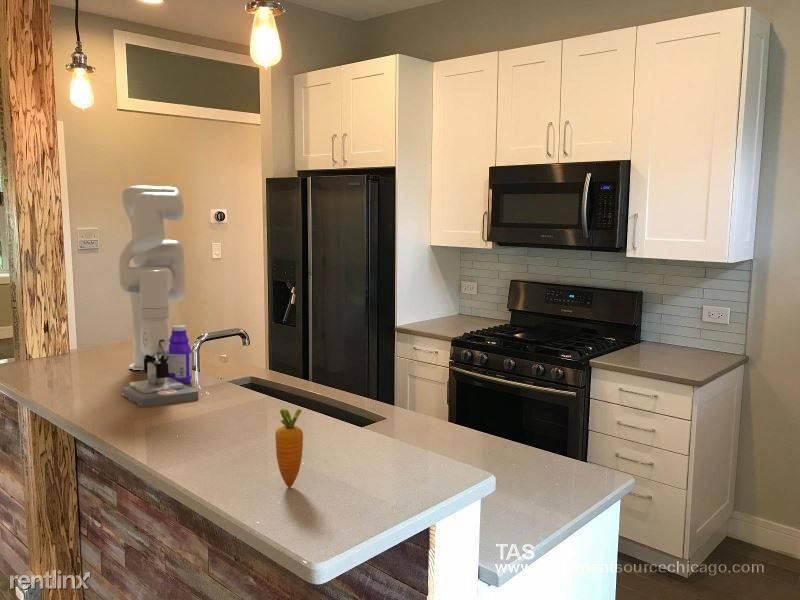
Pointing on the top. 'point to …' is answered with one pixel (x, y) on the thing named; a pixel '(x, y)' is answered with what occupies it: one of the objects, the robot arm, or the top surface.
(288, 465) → the carrot
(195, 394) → the scale
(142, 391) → the platform
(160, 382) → the cylinder
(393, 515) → the top surface
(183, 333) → the bottle
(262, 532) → the top surface
